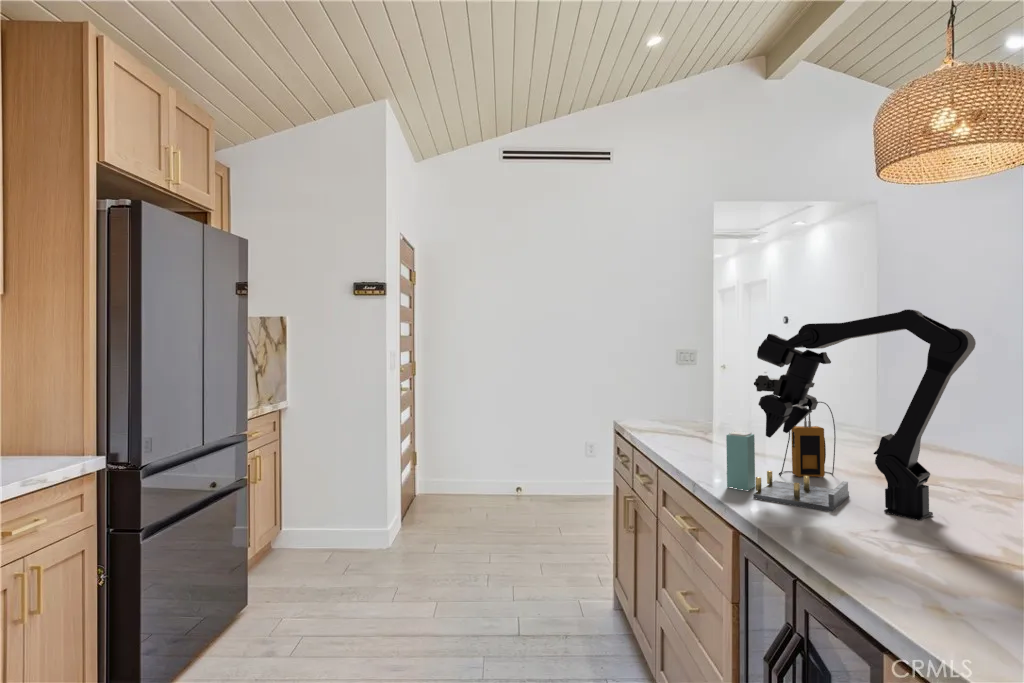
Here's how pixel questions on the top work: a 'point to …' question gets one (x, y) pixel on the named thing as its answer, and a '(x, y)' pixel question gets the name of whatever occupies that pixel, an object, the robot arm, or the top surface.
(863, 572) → the top surface
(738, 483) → the plate
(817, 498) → the plate
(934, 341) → the robot arm
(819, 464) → the multimeter
